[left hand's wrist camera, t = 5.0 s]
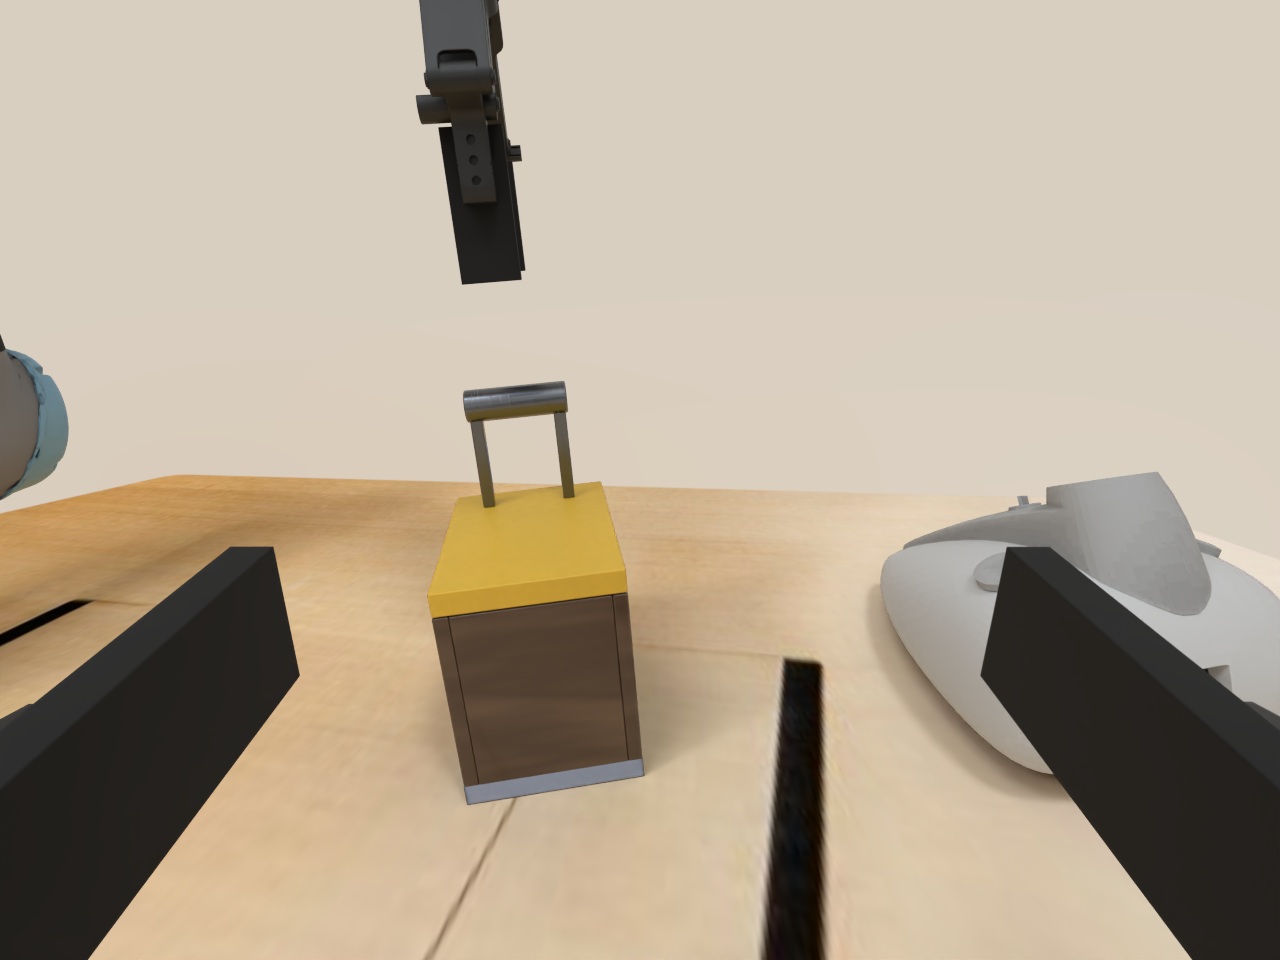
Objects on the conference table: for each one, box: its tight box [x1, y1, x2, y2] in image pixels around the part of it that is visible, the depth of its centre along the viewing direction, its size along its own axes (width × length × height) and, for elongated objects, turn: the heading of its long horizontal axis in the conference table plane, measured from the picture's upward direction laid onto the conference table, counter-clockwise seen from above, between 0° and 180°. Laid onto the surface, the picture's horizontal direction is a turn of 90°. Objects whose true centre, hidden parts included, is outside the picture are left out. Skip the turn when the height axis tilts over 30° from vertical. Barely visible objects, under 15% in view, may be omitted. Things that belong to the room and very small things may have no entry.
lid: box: [427, 381, 627, 618], centre depth 38 cm, size 13×9×8 cm
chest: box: [432, 592, 644, 805], centre depth 41 cm, size 13×9×11 cm
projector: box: [881, 472, 1280, 774], centre depth 40 cm, size 22×23×15 cm
